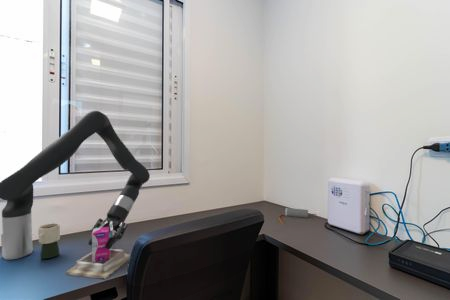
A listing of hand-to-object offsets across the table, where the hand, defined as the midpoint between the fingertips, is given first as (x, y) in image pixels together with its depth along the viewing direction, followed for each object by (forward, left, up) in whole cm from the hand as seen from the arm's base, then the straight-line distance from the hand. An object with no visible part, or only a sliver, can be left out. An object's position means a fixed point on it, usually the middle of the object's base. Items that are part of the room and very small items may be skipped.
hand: (98, 246), depth 88 cm
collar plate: (0, +1, -8) cm, 8 cm away
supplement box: (0, +1, -6) cm, 6 cm away
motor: (+80, +66, -8) cm, 104 cm away
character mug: (-26, +3, -8) cm, 27 cm away
